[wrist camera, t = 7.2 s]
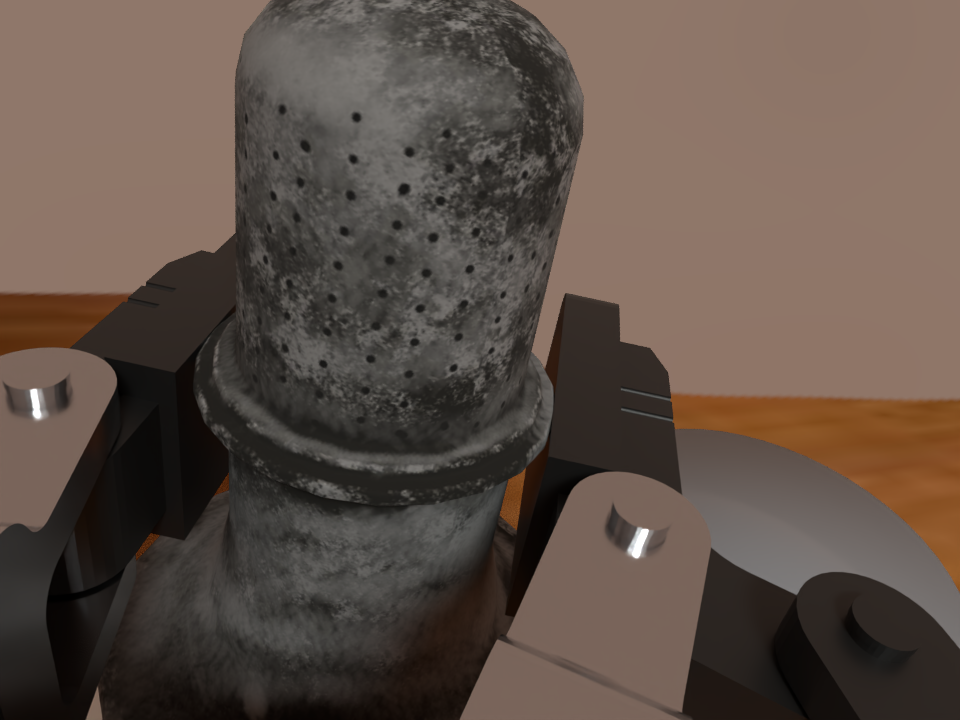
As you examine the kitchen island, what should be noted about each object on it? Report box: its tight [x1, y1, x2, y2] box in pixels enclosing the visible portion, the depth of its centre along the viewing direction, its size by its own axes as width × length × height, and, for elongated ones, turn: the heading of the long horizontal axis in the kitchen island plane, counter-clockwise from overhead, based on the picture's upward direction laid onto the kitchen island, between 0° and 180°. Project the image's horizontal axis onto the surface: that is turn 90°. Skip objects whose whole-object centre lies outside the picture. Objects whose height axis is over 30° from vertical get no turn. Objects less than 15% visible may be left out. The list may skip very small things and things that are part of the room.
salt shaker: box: [98, 0, 584, 720], centre depth 9 cm, size 6×6×12 cm
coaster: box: [675, 429, 960, 648], centre depth 18 cm, size 9×9×1 cm
